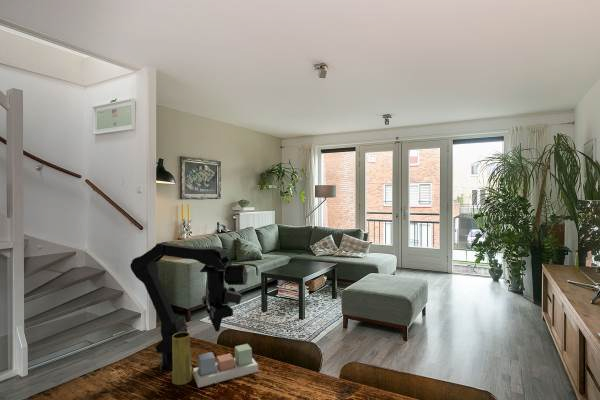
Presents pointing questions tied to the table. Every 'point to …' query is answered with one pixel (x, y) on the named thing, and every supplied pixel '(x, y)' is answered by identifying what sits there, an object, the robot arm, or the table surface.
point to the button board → (224, 374)
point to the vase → (181, 358)
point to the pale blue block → (206, 364)
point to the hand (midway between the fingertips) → (217, 331)
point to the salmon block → (225, 362)
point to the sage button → (243, 355)
